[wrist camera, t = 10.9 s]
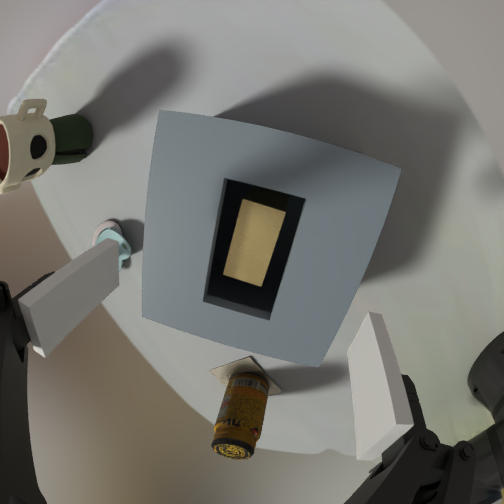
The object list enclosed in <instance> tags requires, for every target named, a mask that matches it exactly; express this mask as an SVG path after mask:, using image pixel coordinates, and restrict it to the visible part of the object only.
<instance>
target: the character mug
mask: <svg viewBox="0 0 504 504" xmlns="http://www.w3.org/2000/svg"><path fill="white" fill-rule="evenodd" d="M46 104H47V100H45V99H27V100H24V101H23V102H22V104H21V106H20V109H19V112H18V114H17V115H8V116H1V117H0V194H6V193H9V192H12V191H14V190H17V189H18V188H20V186H21V183H22V182H24V181H28V180H33V179H35V178H37V177H39V176H40V175H42V174H43V173H44V172H45V171H46V170H47V169H48V168H49V167H50V166H51V165H59V164H69V163H75V162H80V161H81V160H82V159H83V158H84V157H86V155H87V154H80V153H81V151H82V149H83V148H90V146H91V138H92V132H91V128H90V124H89V123H88V121H87V120H86V119H85V118H84V117H83V116H80V115H78V114H72V115H66V116H62V117H58V118H55V119H51V120H49V119H48V118H47V117H46V116H44V115H43V113H44V111H45V108H46ZM30 108H36V111H35V113H27V112H28V110H29V109H30Z"/></svg>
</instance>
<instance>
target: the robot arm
mask: <svg viewBox="0 0 504 504" xmlns="http://www.w3.org/2000/svg"><path fill="white" fill-rule="evenodd" d="M118 286H119V241H116V240H113V239H110V238H106V239H105V240H103V241H102V242H100V243H99V244H97V245H95V246H94V247H92V248H91V249H89V250H88V251H86V252H85V253H83V254H81V255H80V256H78V257H77V258H75V259H74V260H72V261H71V262H70V263H68V264H67V265H65V266H64V267H62V268H61V269H59V270H58V271H57V272H51V273H49V274H46V275H44V276H42V277H41V278H40V279H38V281H35V282H34V283H33V284H32V285H30V286H29V287H27V288H26V289H24V290H23V291H22V292H21V293H19V294H18V295H17V296H15V297H14V298H11V295H10V291H9V287H8V285H7V283H5V282H4V281H0V504H47V502H46V500H45V498H44V496H43V495H42V494H41V492H40V490H39V487H38V484H37V479H36V474H35V468H34V463H33V457H32V450H31V442H30V433H29V421H28V404H27V365H28V364H27V363H28V347H27V344H28V343H29V342H30V341H31V343H32V345H33V348H34V350H35V351H36V352H38V353H39V354H41V355H42V356H43V357H45V358H46V357H47V356H48V355H49V354H50V353H51V352H52V351H53V350H54V348H55V347H56V346H57V345H58V344H59V343H60V342H61V341H62V340H63V339H64V338H65V337H66V336H67V335H68V334H69V333H70V332H71V331H72V330H73V329H74V328H75V327H76V326H77V325H78V324H79V323H80V322H81V321H82V320H83V319H84V318H85V317H86V316H87V315H88V314H89V313H90V312H91V311H92V310H93V309H94V308H95V307H96V306H97V305H99V304H100V303H101V302H102V301H103V300H104V299H105V298H106V297H107V296H108V295H109V294H110V293H111V292H112V291H113V290H114V289H116V288H117V287H118ZM347 356H348V364H349V372H350V380H351V389H352V399H353V410H354V421H355V435H356V452H357V460H375V459H376V458H377V457H378V456H380V455H381V454H382V462H381V463H379V464H378V465H377V466H375V467H374V468H373V469H371V470H370V471H369V473H371V472H372V473H371V474H370V476H369V477H368V478H367V479H366V480H365V481H364V482H363V484H362V485H361V486H360V487H359V488H358V489H357V490H356V492H354V494H353V495H352V496H351V497H350V498H349V499H348V500H347V501H346V502H345V503H344V504H500V503H501V501H502V494H501V490H502V489H503V488H504V333H502V334H501V335H499V336H498V337H497V338H496V339H495V340H494V341H492V342H491V343H490V344H489V345H488V346H487V347H486V349H485V350H484V351H483V352H482V353H481V354H480V356H479V357H478V358H477V360H476V361H475V363H474V364H473V366H472V368H471V370H470V372H469V375H468V386H469V388H470V390H471V393H472V395H473V396H474V397H475V398H476V399H477V400H478V401H479V402H480V403H481V404H482V405H484V406H485V407H486V408H487V409H488V410H489V411H490V412H491V414H492V416H493V419H494V421H495V424H493V425H492V426H490V427H489V428H488V429H487V430H485V431H483V432H481V433H480V434H478V435H477V436H475V437H474V438H472V439H470V440H469V441H460V442H458V443H457V444H456V445H455V446H453V447H451V446H448V445H445V444H441V443H440V441H439V439H438V437H437V435H436V434H435V433H434V432H432V431H430V430H428V429H427V428H426V424H425V420H424V417H423V413H422V409H421V406H420V403H419V399H418V395H417V392H416V389H415V385H414V383H413V382H412V380H411V379H410V377H409V376H408V375H402V374H401V373H400V369H399V366H398V363H397V359H396V356H395V353H394V350H393V347H392V344H391V340H390V337H389V334H388V332H387V329H386V326H385V323H384V320H383V317H382V315H381V314H377V313H373V312H369V311H368V313H367V315H366V317H365V319H364V321H363V323H362V325H361V327H360V329H359V331H358V332H357V334H356V336H355V338H354V340H353V342H352V343H351V345H350V347H349V349H348V351H347Z"/></svg>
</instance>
